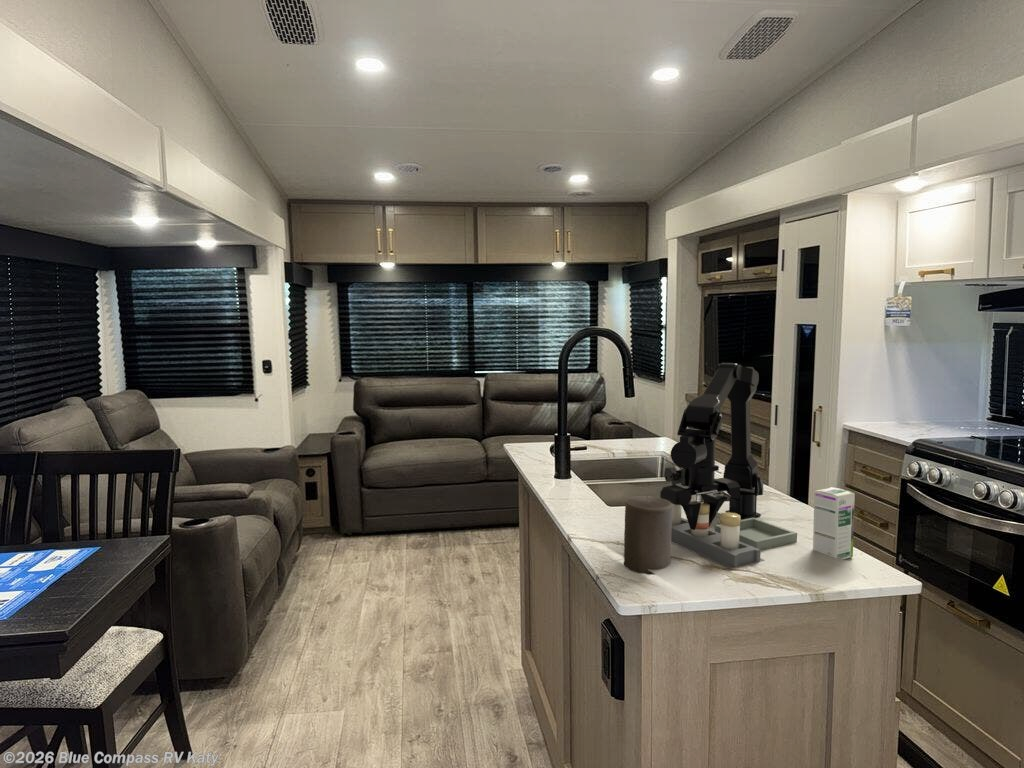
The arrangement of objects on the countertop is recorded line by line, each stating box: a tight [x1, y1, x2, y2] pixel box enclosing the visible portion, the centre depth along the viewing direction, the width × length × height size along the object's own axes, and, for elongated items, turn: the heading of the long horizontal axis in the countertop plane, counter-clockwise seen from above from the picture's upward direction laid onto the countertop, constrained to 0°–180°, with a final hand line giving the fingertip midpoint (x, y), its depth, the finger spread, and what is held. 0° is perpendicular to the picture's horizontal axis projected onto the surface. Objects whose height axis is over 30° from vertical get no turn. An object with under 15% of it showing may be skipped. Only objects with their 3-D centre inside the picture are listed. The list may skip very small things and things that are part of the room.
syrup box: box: [812, 486, 856, 560], centre depth 135 cm, size 6×6×14 cm
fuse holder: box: [671, 517, 765, 570], centre depth 142 cm, size 28×10×4 cm, turn 26°
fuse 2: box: [719, 512, 741, 551], centre depth 133 cm, size 4×4×9 cm
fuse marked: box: [691, 501, 710, 538], centre depth 141 cm, size 4×4×9 cm
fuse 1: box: [672, 504, 683, 526], centre depth 149 cm, size 4×4×9 cm
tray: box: [714, 517, 798, 551], centre depth 145 cm, size 13×13×3 cm
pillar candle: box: [623, 495, 673, 575], centre depth 131 cm, size 10×10×15 cm
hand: (699, 527), depth 141 cm, fingers closed on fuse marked, 4 cm apart
